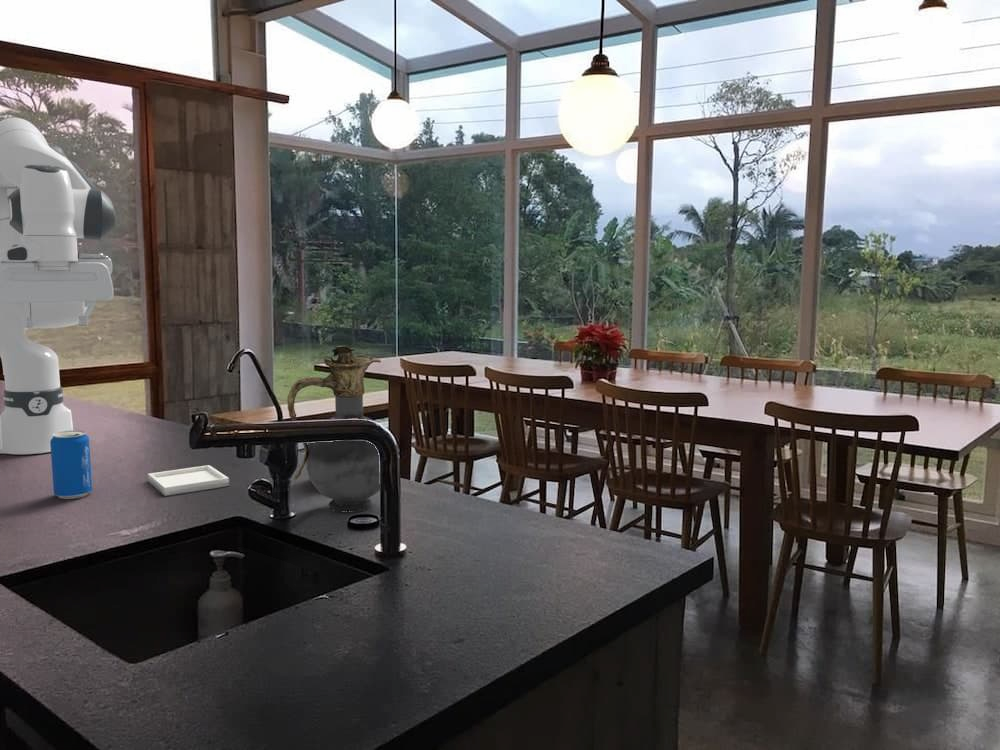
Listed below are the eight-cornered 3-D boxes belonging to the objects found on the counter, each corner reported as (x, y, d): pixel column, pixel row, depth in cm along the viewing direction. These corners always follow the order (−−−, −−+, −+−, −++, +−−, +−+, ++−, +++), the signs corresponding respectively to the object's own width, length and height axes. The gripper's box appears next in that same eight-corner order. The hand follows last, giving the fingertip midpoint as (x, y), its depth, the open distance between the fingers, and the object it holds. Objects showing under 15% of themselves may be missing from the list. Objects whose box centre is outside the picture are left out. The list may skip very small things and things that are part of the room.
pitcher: (402, 508, 148) (401, 345, 144) (299, 525, 138) (295, 350, 134) (378, 493, 157) (377, 339, 153) (281, 508, 147) (276, 344, 143)
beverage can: (76, 501, 150) (72, 438, 148) (45, 498, 151) (41, 436, 149) (100, 491, 156) (96, 430, 154) (70, 489, 157) (66, 428, 156)
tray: (148, 481, 163) (148, 473, 163) (209, 472, 171) (209, 465, 170) (165, 495, 154) (164, 487, 154) (229, 485, 161) (228, 477, 161)
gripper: (108, 253, 160) (112, 323, 162) (-14, 252, 148) (-8, 327, 150) (115, 252, 155) (119, 324, 157) (-11, 251, 143) (-4, 329, 145)
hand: (56, 326), depth 153 cm, fingers open, 8 cm apart
